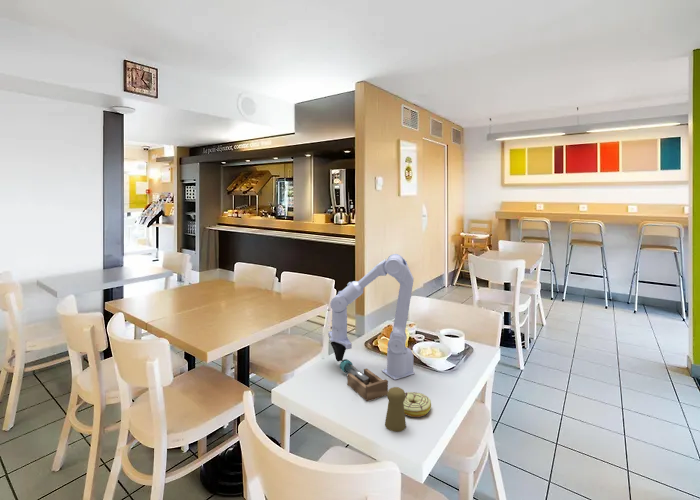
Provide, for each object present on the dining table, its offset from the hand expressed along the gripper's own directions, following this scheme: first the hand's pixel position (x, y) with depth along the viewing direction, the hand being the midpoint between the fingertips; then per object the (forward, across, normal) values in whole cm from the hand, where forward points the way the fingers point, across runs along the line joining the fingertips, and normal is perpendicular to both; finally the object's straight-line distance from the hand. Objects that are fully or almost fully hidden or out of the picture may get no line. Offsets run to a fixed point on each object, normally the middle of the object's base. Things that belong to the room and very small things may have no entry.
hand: (339, 360), depth 144 cm
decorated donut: (+3, +36, +6) cm, 36 cm away
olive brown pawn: (+3, +40, -4) cm, 40 cm away
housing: (+3, +19, 0) cm, 19 cm away
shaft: (+2, +11, 0) cm, 12 cm away
